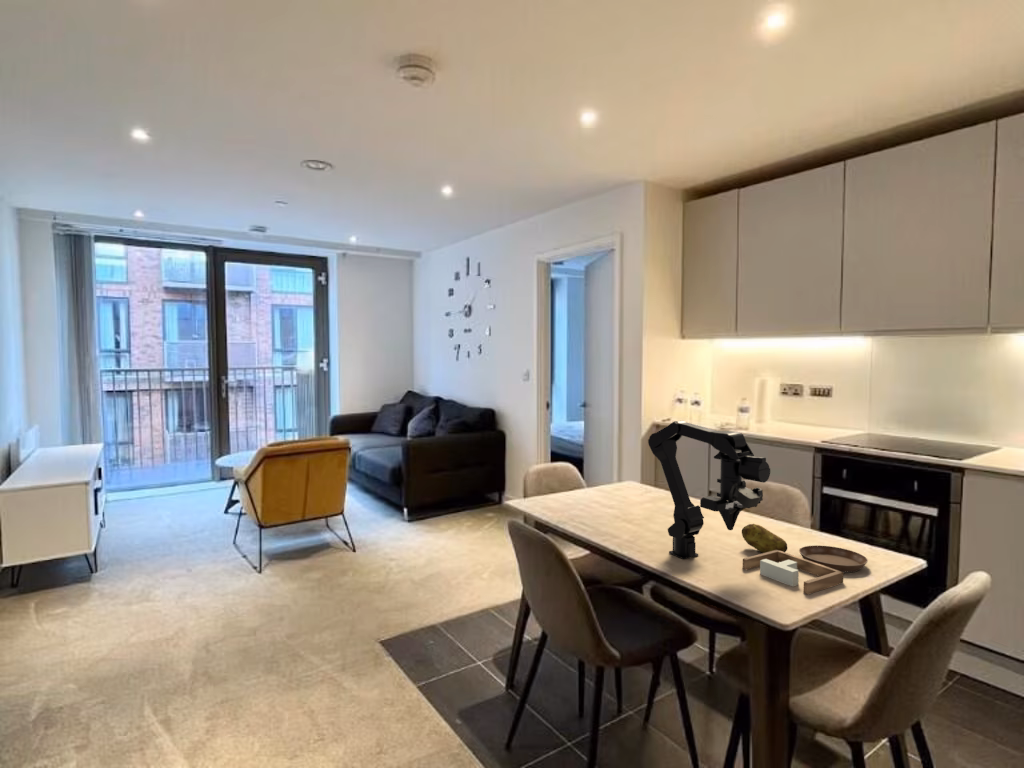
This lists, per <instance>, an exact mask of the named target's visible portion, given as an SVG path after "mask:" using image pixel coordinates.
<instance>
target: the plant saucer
mask: <svg viewBox="0 0 1024 768" xmlns="http://www.w3.org/2000/svg"><path fill="white" fill-rule="evenodd" d="M798 551H799V553H800V556H801V558H803V559H806V560H809V561H812V562H815V563H818V564H821V565H824V566H827V567H829V568H832V569H835V570H838V571H841V572H843V573H853V572H854V573H855V572H858V571H860V570H862V568H864V566H865V565H867V563H868V561H869V559H868V558H867V556H864V555H862V554H861V553H858V552H856V551H853V550H850V549H847V548H844V547H843V548H841V547H836V546H830V545H815V544H814V545H807V546H806V545H805V546H802V547H801V548H799V550H798Z"/></svg>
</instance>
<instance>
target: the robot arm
mask: <svg viewBox="0 0 1024 768" xmlns="http://www.w3.org/2000/svg"><path fill="white" fill-rule="evenodd" d="M682 437H686V438H688V439H692V440H696V441H699V442H702V443H706V444H708V445H710V446H711V447H712V448H713V449H715V450H716V451H718V453H716V454H715V455H714V456H713V459H714V460H715V459H716V460H720V475H719V476H720V477H719V478H716V483H719V489H720V491H719V492H716V496H717V497H716V496H712V495H710V496H709V495H708V496H704V497H702V498H701V499H700V502H699V505H695V504H694V503H693V502H692V500H691V498H690V496H689V493H688V492H689V491H688V489H687V487H686V484H685V480H684V479H683V475H682V472H681V469H680V466H679V464H678V463H679V462H678V461H677V450H678V445H677V442H678V441H680V439H682ZM647 443H648V446H649V448H650V450H651V453H652V454H653V456H654V457H656V459H658V461H659V462H660V465H661V467H662V470H663V471H662V472H663V474H664V476H665V480H666V483H667V485H668V486H667V487H668V489H669V491H670V492H669V493H670V495H671V498H672V500H673V504H674V510H673V521H674V522H673V523H672V524H671V525H670V526H669V527H668V528H667V533H668V536H669V537H672V550H669V551H668V553H669V554H670V555H672V556H676V557H678V558H680V559H682V560H686V559H690V558H694V557H699V553H697V552H696V536H697V535H699V533H700V531H701V530H702V528H703V526H704V519H705V516H704V514H703V513H702V509H707V510H709V511H713V512H718V513H719V514H720V516H721V518H722V520H723V522H724V524H725V526H726V529H727V530H728V531H733V530H734V527H735V524H736V522H737V520H738V517H739V515H740V513H741V512H742V511H744V510H746V509H751V508H757V507H758V504H761V502H762V501H763V499H764V498H763V497H764V495H763V493H764V492H763V489H762V488H761V487H755V488H748V487H747V482H746V481H745V480H750V481H754V482H757V483H766V482H768V480H769V478H770V476H771V468H770V465H769V463H768V462H767V458H766V457H764V456H755V455H754V452H753V451H752V450H751V447H750V446H749V444H748V443H747V441H746V438H745V435H744V434H743V433H742V432H740V431H739V432H738V431H729V430H714V429H712V428H708V427H706V426H705V427H704V426H701V425H698V424H694V423H692V422H691V423H690V422H687V421H685V420H677V421H676V420H675V421H672V422H670V424H669V425H667V426H665V427H664V428H661V429H660V430H658V431H657V432H653V433H651V434H650V436H649V438H648V439H647ZM701 508H702V509H701ZM695 535H696V536H695Z"/></svg>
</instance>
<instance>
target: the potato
mask: <svg viewBox="0 0 1024 768" xmlns="http://www.w3.org/2000/svg"><path fill="white" fill-rule="evenodd" d="M741 536H742V538H743V540H744V541H745V542H746V543H747V545H749V546H751V547H752V548H754V549H755V550H757V551H758V552H760V553H761V554H762V553H766V552H770V551H774V550H780V551H783V552H785V553H787V551H788V544H787V542H786V540H784V539H783V538H782V537H780V536H779V535H777V534H775V533H773V532H771V531H770V530H768V529H767V528H765V527H763V526H761V525H760V524H755V523H751V524H750V523H749V524H747V525H745V526H744V527H743V528H742V530H741Z"/></svg>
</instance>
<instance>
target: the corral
mask: <svg viewBox="0 0 1024 768" xmlns="http://www.w3.org/2000/svg"><path fill="white" fill-rule="evenodd" d="M763 559H768V560H771V561H774V562H777V563H779V562H782V561H786V560H792V561H795V562H797V570H800V571H803V572H806V573H809V574H812V575H814V576H818V577H814V578H812V579H811V578H810V579H809V580H805V581H803V591H802V593H803V594H806V595H811V594H813V593H817V592H820V591H823V590H825V589H829V588H832V587H835V586H838V585H842V584H844V572H841V571H838V570H835V569H832V568H829V567H827V566H824V565H821V564H818V563H815V562H812V561H809V560H806V559H804V558H803V557H800V556H797V555H794V554H790V553H788V552H783V551H780V550H774V551H770V552H766V553H762V552H761V553H759V554H756V555H752V556H747V557H744V558H742V569H743V570H745V571H748V570H751V569H754V568H758V567H759V568H760V560H763Z"/></svg>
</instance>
